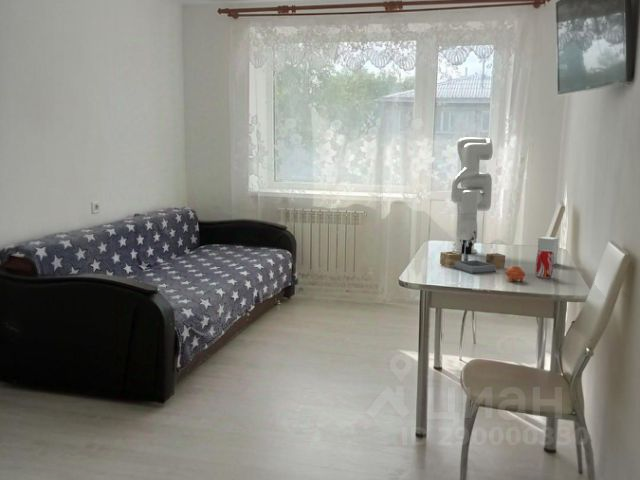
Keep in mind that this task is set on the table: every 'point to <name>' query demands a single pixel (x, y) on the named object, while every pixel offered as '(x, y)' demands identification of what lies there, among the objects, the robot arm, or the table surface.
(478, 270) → the tray
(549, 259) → the soda can
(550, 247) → the supplement box
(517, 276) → the pot
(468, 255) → the cylinder
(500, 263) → the walnut block
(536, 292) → the table surface
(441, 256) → the oak block
